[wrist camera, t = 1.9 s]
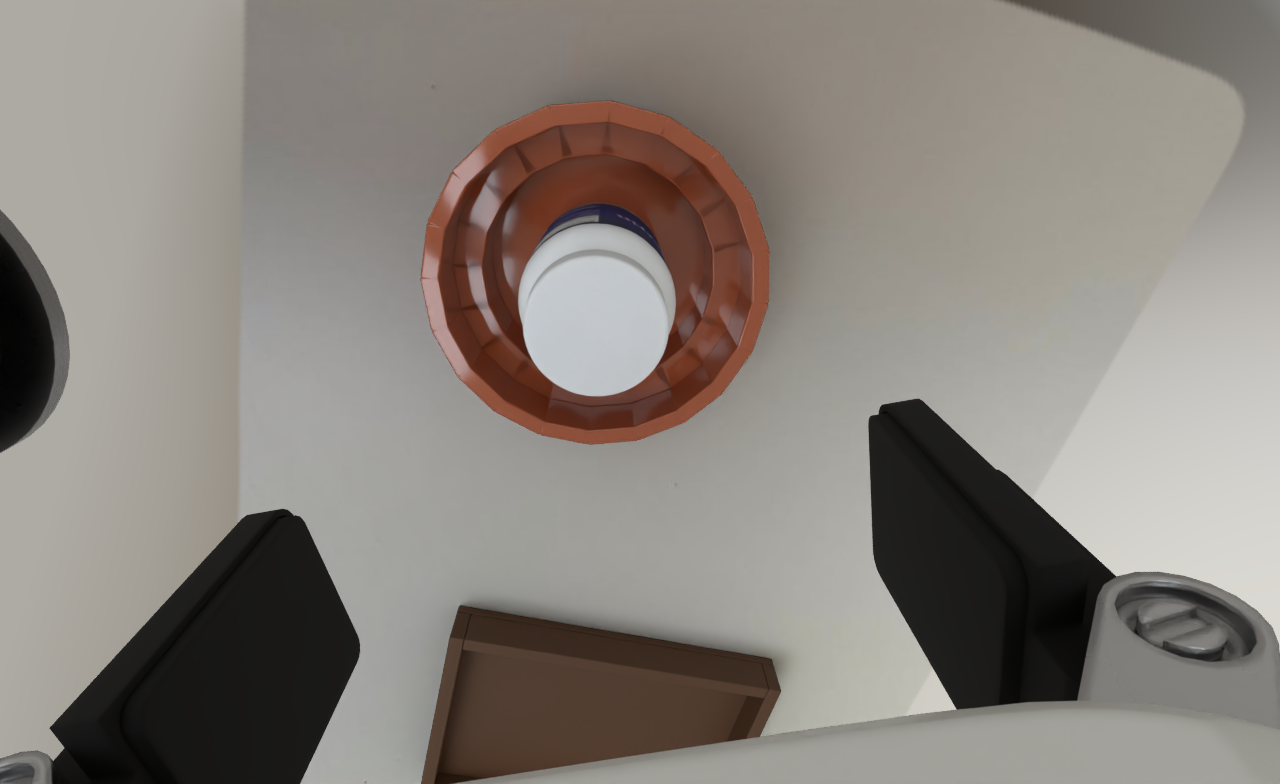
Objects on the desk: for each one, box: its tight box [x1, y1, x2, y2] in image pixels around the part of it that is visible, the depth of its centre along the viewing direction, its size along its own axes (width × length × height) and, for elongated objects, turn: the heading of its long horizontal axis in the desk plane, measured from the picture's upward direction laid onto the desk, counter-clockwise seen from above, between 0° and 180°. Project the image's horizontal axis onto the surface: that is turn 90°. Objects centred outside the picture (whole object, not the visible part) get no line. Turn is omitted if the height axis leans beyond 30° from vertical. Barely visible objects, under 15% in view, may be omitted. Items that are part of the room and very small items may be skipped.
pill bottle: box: [518, 202, 676, 396], centre depth 25 cm, size 6×6×10 cm
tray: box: [421, 606, 781, 784], centre depth 41 cm, size 20×15×2 cm
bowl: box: [421, 100, 769, 445], centre depth 27 cm, size 13×13×6 cm
